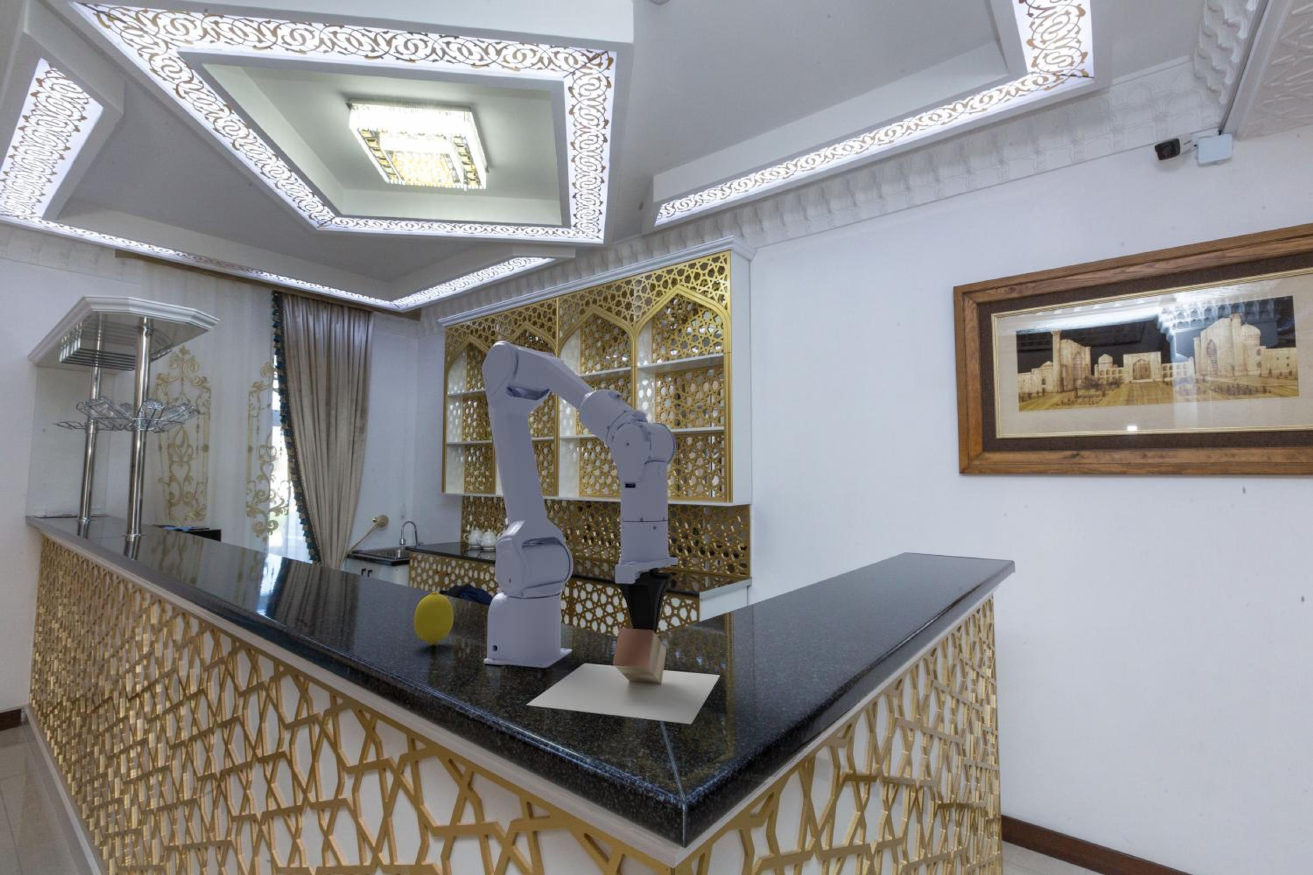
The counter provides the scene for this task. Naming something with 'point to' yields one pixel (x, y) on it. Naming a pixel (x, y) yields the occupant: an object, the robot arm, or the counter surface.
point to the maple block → (640, 655)
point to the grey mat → (629, 694)
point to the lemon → (433, 618)
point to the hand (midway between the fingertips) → (645, 636)
